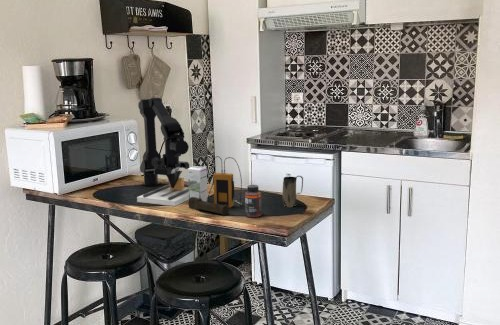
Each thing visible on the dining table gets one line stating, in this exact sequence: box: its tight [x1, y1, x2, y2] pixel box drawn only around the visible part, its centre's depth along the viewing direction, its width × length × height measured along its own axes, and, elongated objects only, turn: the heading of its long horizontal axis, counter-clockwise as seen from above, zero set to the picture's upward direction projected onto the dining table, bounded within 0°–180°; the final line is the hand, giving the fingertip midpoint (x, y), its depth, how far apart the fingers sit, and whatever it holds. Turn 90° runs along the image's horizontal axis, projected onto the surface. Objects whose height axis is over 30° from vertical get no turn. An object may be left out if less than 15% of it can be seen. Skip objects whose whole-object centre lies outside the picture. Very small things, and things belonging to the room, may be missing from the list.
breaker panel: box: [136, 183, 189, 207], centre depth 213 cm, size 22×18×3 cm
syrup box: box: [187, 165, 209, 202], centre depth 204 cm, size 6×6×14 cm
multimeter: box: [206, 155, 245, 209], centre depth 200 cm, size 15×10×20 cm
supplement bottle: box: [244, 184, 263, 218], centre depth 185 cm, size 6×6×11 cm
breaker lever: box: [168, 176, 185, 190], centre depth 218 cm, size 2×6×5 cm, turn 67°
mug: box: [282, 175, 304, 208], centre depth 198 cm, size 8×6×12 cm
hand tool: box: [188, 197, 230, 217], centre depth 193 cm, size 19×4×5 cm, turn 51°
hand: (172, 188), depth 215 cm, fingers closed
